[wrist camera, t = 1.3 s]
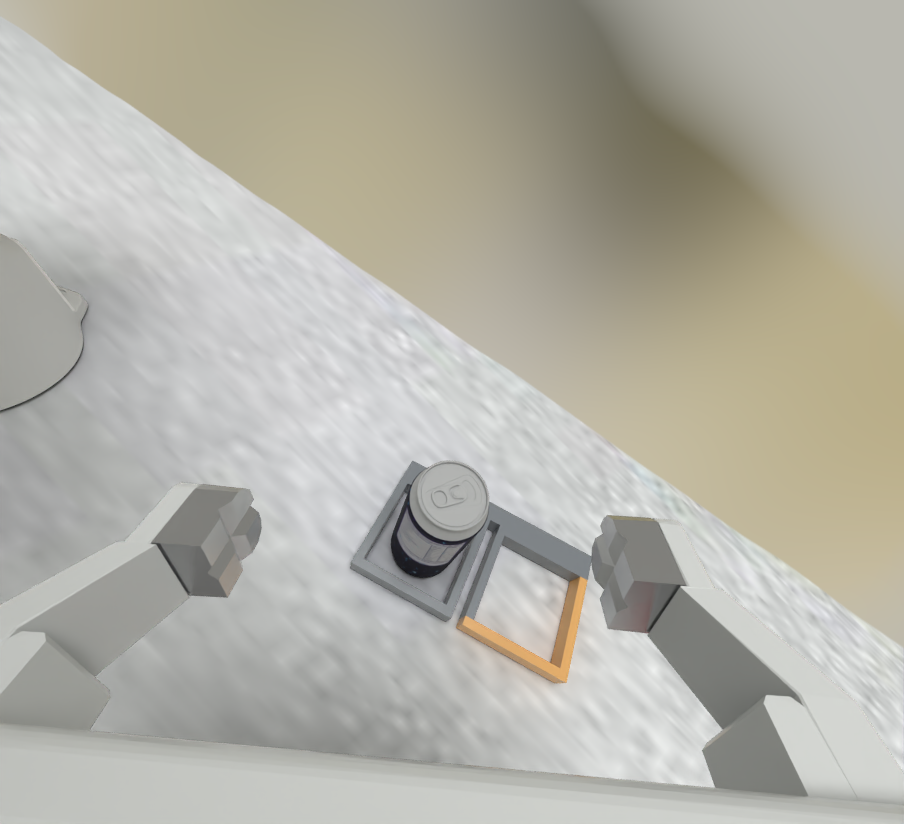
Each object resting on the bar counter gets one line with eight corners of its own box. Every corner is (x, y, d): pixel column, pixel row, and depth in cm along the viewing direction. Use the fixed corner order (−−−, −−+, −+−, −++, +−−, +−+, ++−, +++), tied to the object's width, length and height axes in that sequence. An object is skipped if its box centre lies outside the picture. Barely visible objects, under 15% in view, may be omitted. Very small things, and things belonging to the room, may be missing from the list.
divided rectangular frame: (350, 568, 33) (351, 562, 31) (409, 469, 39) (412, 460, 38) (554, 683, 32) (566, 683, 30) (581, 562, 38) (592, 556, 37)
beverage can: (461, 567, 35) (508, 522, 26) (400, 589, 33) (427, 548, 23) (440, 508, 38) (475, 447, 28) (382, 525, 36) (400, 465, 26)
